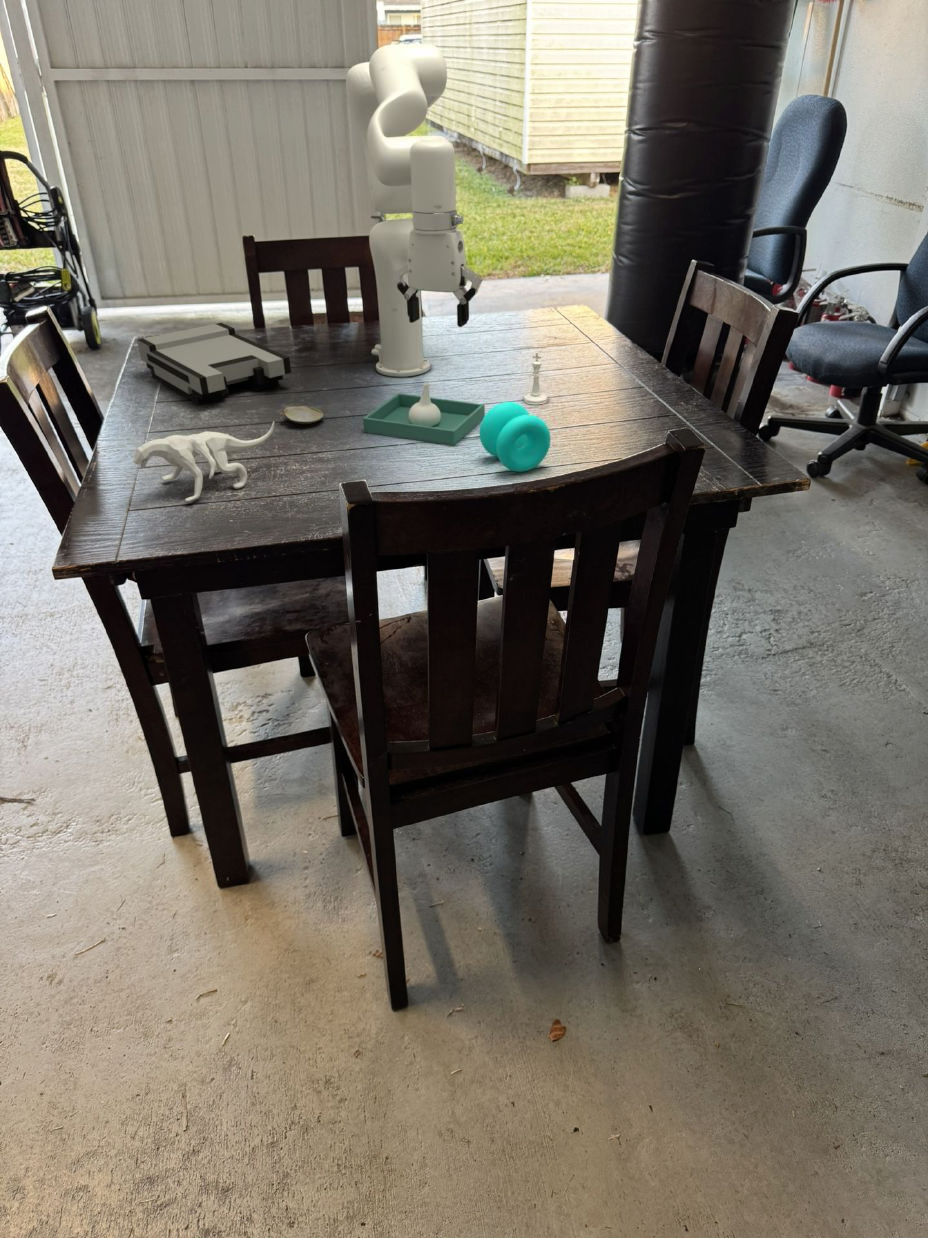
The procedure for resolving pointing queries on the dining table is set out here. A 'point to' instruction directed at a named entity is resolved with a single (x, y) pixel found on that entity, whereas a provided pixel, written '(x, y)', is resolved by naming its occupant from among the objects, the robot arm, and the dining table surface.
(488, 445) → the turquoise yo-yo
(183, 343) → the game console
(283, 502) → the dining table surface
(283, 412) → the seashell
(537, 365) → the chess piece
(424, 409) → the garlic bulb
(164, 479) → the white animal figurine
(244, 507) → the dining table surface
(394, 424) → the tray
